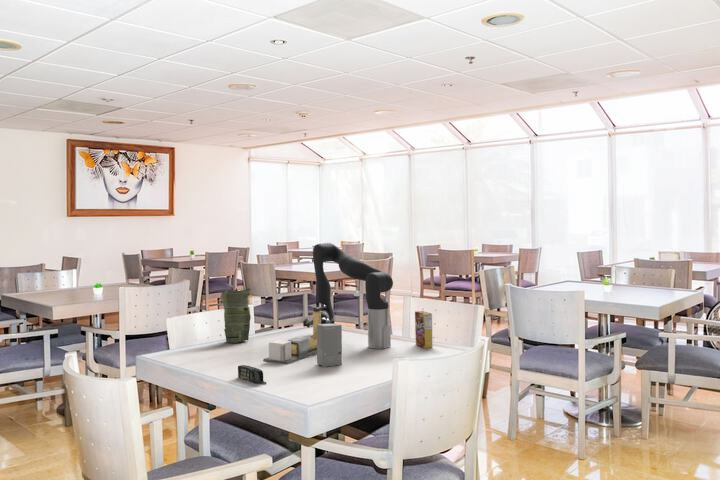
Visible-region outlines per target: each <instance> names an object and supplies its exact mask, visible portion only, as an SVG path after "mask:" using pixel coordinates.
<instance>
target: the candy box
mask: <svg viewBox="0 0 720 480" xmlns="http://www.w3.org/2000/svg"><path fill="white" fill-rule="evenodd" d="M414 323H415V325H414V327H415V330H414V331H415V332H414V333H415V345H416V346H419V347H421V348H423V349H431V348H433V313H430V312H427V311H424V310H416V311H414Z"/></svg>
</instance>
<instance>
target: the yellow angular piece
mask: <svg viewBox="0 0 720 480" xmlns="http://www.w3.org/2000/svg"><path fill="white" fill-rule="evenodd" d="M311 311H312V318H313V327H312V336H311V337H308V338H307V339H308V351H309V350H312V349H315V348H317V324H321V307H320V306H314V307H312V310H311ZM291 354H296V355H297V354H298V343H295V342H294V343H291Z"/></svg>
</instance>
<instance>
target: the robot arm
mask: <svg viewBox="0 0 720 480" xmlns="http://www.w3.org/2000/svg"><path fill="white" fill-rule="evenodd" d="M312 261H313V266H314V267H313V268H314V274H315V281H316V303H319V304H321V305H325V307H321V324H335V318H334V317H335V312H334V309H333V306H332V301H331V298H332V297H331V296H332V295H331V293H332V292H331V289H332V288H331V283H330V281H329V279H328V277H327V275H326V273H325V270H324V263H328V262H334V263H336V264H337V265H338V268H339V270H340V272H341V273H342V274H344V275H346V276H348V277H349V278H352V279H355V280H358V281H364V282H365V283H364V285H365V287H364V288H365V300H366V304H367V347H368V349H369V348H370V349H381V350H382V349H387V348H389V347H391V345H392V344H391V342H392V341H391V340H392V339H391V335H392V334H391V333H392V332H391V325H390V322H389V319H390V317H389V314H390V313H389V308H390V307H389V302H388V301H387V300H384V299H383V298H382V297H381V294H382V293H386V292H389V291H391V290H392V288H393V286H394V280H393V278H392V276H391V275H390V274H389V273H388V272H386V271H383V270H381V269H378V268H376V267H374V266H371V265H369V264H368V263H366V262H364V261H363V260H360V259H359V258H357V257H355V256H353V255H352V254H349V253H348V252H345V251H344V250H342V249H341V248H339V247H338V246H337V245H335V244H334V243H331V242H325V243H316V244H315V245H314V246H313V249H312ZM302 324H303V327H306V328H309V329H310V328H313V317H312V318H310V319H307V318H305V319H304V320H303V321H302Z"/></svg>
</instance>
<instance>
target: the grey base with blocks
mask: <svg viewBox="0 0 720 480" xmlns="http://www.w3.org/2000/svg"><path fill="white" fill-rule="evenodd" d="M287 341H290V342H291V343H294V342H295V343H298V354H297V355H296V354H291V359H288V360H285V361H279V360H271V359H269V356H268V357H265V358H262V359H263V361H264V362H269V363H270V362H271V363H278V364H283V365H288V364H291V363H294V362H298V361H300V360H303V359H306V358H309V357H312V356H316V355H317V348H315V349H312V350H309V351H308V338H304V337H294V338H290V339H288V340H287Z"/></svg>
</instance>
